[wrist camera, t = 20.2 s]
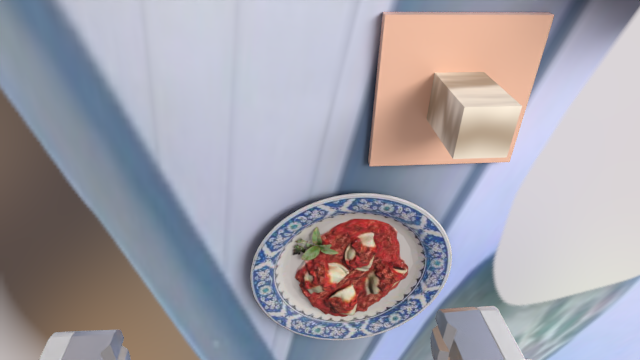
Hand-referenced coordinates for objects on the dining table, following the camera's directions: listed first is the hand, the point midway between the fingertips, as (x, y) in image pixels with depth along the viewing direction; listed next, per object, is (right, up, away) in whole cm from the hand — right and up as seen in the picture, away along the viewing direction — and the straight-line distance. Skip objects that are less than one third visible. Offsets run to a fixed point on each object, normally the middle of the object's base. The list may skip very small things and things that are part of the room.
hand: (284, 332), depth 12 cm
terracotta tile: (+14, +13, +34) cm, 39 cm away
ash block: (+14, +13, +33) cm, 38 cm away
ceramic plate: (+5, -7, +47) cm, 48 cm away
